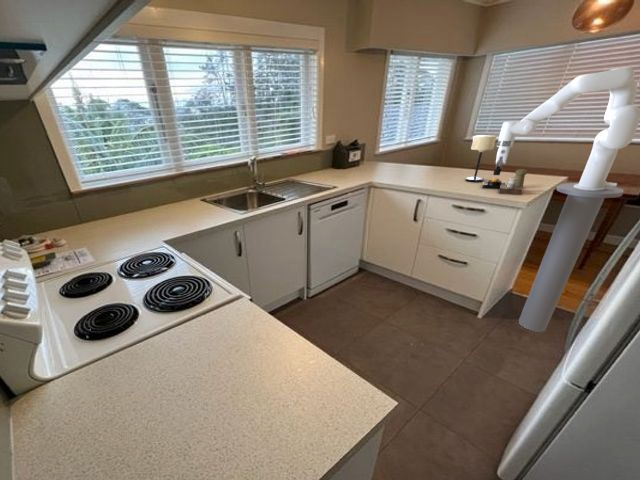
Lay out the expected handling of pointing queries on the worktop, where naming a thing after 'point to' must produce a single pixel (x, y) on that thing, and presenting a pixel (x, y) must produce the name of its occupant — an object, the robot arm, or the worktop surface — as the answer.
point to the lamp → (481, 145)
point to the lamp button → (495, 179)
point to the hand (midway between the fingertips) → (496, 174)
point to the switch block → (492, 184)
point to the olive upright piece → (520, 177)
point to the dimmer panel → (510, 190)
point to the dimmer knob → (512, 182)
